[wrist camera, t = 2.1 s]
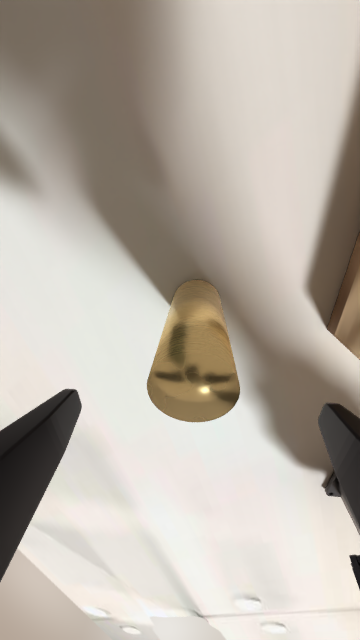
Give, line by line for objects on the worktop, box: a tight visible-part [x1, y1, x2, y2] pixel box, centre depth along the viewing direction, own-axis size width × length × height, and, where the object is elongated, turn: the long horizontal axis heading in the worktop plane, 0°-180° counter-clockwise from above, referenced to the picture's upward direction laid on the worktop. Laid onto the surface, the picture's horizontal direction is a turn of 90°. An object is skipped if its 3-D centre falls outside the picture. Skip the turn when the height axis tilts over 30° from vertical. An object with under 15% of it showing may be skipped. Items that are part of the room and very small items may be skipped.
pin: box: [147, 280, 240, 422], centre depth 12 cm, size 4×4×9 cm
